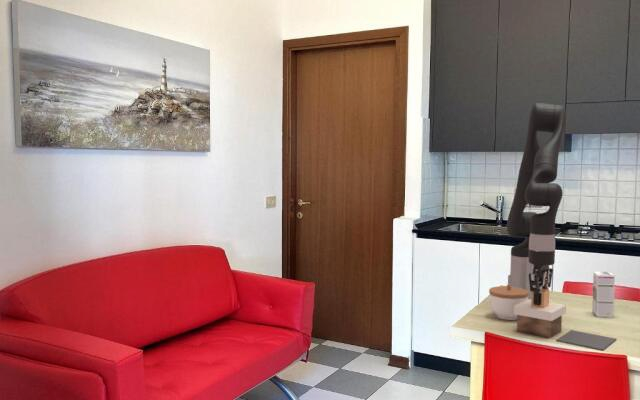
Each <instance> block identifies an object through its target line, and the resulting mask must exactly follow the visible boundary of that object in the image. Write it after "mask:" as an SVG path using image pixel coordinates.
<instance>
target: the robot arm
mask: <svg viewBox="0 0 640 400" xmlns="http://www.w3.org/2000/svg"><path fill="white" fill-rule="evenodd" d="M566 118H567V111H566V108H565V106H563V105H561V104H560V105H559V104H551V103H546V102H545V103H542V102H535V103H534V104H533V105H532V107H531V110H530V113H529V118H528V125H527V133H526V139H525V145H524V150H523V153H522V158H521V163H520V166H519V171H518V175H517V182H516V188H515V191H514V192H515V193H514V196H513V200H512V203H511V207H510V210H509V214H508V216H507V217H508V218H507V222H506V231H507V233H508V235H509V236H510V237H512V238H525V239H524V240H523V241H522V242H521V243H519V244H517V245H513V246H512V247H511V249H510V267H509V268H510V270H509V272H510V273H509V274H508V275H507V284H510V285H511V287H517V288H522V289H525V290H527V291H528V292H529V296H528V299H530V300H531V292H534V297H533V304H534V305H541V295H542V289H549V288H551V287H552V280H553V273H554V269H553V268H551V267H550V266H553V265H554V264H555V263H556V261H555V260H556V259H555V258H556V236H555V234H556V219H557V218H556V217H557V213H558V210H559V207H560V204H561V202H562V201H561V200H562V198H563V189H562V186H560V184H558V183H555V182H554V181H556V179H557V177H558V165H559V156H560V150H561V149H560V148H561V145H562V141H563V137H564V131H565V125H566V120H567V119H566ZM538 132H545V133H552V135H551V137H550V138H549V139H548V140H547V141H546V142H545V143H544V144H542V146H540V143H539V139H538ZM527 205H529V206H534V207H549V208H548V210H547V211H545V212H541V213H540V212H539V213H537V212H534V211H525V209H526V207H527ZM549 290H550V289H549Z"/></svg>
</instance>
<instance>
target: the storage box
mask: <svg viewBox="0 0 640 400" xmlns="http://www.w3.org/2000/svg"><path fill="white" fill-rule="evenodd" d="M562 317H563V315H562V316H560V317H558V318H556V319H555V320H553V321H549V320H543V319H538V318H532V317H527V316H522V315H517V320H516V332H517V333H522V334H527V335H532V336H536V337H537V336H538V337H541V338H542V337H543V338H547V339H550V338H552V337H553V336H555V335H557V334H559V333H560V332H561V331H562V326H563V325H562V323H563V322H562V321H563V318H562Z"/></svg>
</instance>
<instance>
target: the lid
mask: <svg viewBox="0 0 640 400" xmlns="http://www.w3.org/2000/svg"><path fill="white" fill-rule="evenodd" d="M533 297H534V292H531V300H530V299H528V300H526V301H524V302H522V303H520V304H517V305H515V306H514V314H516V315H522V316H527V317H532V318H538V319H543V320H549V321H553V320H555V319H556V318H558V317H560V316H562V317H563V316H564V315H565V314H566V312H567V311H566V308H567V307H566V304H565V305H564V304H560V303H554V302H550V289H542V295H541V305H534V304H533Z"/></svg>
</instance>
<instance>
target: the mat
mask: <svg viewBox="0 0 640 400" xmlns="http://www.w3.org/2000/svg"><path fill="white" fill-rule="evenodd" d="M555 341H556V342H559V343H563V344H569V345H574V346H578V347H584V348H587V349H588V348H589V349H593V350H598V351H605V350H606V349H607V348H609V347H610V346H611V345H613V343H615V342H616V341H617V338H614V337H611V336H610V337H609V336H604V335H599V334H594V333H589V332H582V331H578V330H574V329H573V330H572V329H571V330H569V331H568V332H566V333H565V334H563V335H561V336H559V337H558V338H556V339H555Z"/></svg>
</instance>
